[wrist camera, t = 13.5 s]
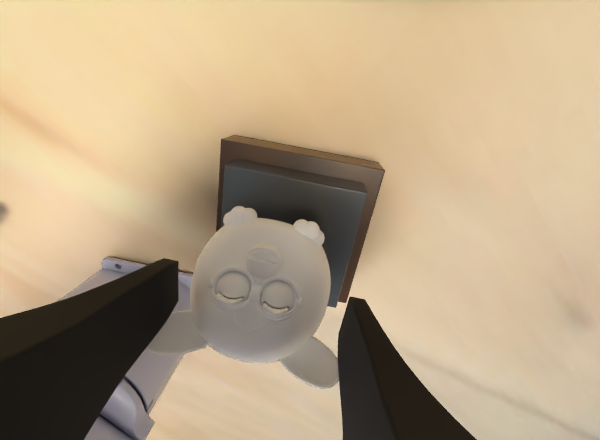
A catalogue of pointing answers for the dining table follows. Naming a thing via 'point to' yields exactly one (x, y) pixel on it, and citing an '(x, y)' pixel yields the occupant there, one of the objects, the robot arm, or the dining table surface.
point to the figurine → (258, 298)
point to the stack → (304, 196)
